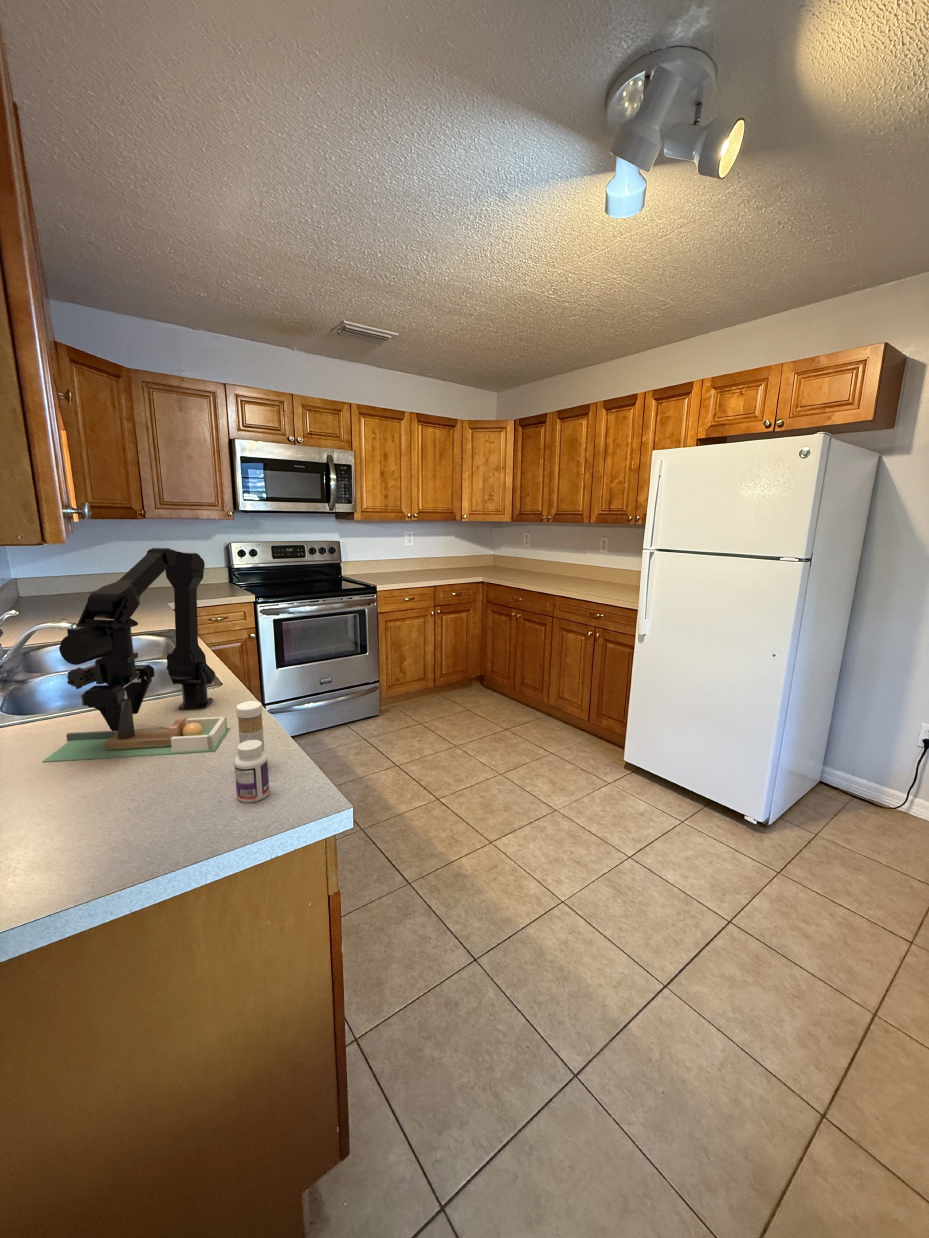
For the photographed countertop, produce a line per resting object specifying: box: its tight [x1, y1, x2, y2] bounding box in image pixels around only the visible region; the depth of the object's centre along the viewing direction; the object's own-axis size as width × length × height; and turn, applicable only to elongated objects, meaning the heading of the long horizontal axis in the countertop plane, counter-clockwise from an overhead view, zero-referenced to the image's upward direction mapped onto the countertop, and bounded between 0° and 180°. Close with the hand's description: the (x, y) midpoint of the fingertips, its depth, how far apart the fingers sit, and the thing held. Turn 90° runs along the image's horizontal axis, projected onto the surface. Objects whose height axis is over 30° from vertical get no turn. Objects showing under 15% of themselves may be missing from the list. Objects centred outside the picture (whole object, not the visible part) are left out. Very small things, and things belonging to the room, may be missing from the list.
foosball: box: [182, 722, 203, 736], centre depth 110 cm, size 4×4×4 cm
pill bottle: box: [233, 740, 270, 803], centre depth 88 cm, size 5×5×10 cm
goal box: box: [171, 716, 228, 752], centre depth 110 cm, size 11×8×3 cm
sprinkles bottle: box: [236, 700, 265, 753], centre depth 97 cm, size 5×5×14 cm
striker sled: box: [104, 698, 188, 750], centre depth 107 cm, size 6×14×10 cm, turn 101°
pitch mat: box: [41, 727, 231, 763], centre depth 108 cm, size 12×32×1 cm, turn 101°
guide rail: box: [65, 726, 170, 742], centre depth 111 cm, size 1×24×2 cm, turn 101°
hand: (125, 721), depth 106 cm, fingers open, 9 cm apart
